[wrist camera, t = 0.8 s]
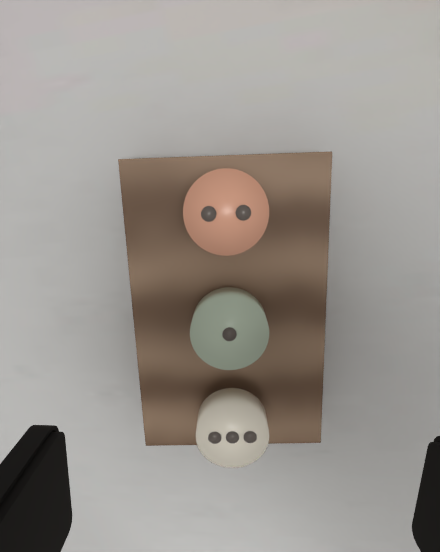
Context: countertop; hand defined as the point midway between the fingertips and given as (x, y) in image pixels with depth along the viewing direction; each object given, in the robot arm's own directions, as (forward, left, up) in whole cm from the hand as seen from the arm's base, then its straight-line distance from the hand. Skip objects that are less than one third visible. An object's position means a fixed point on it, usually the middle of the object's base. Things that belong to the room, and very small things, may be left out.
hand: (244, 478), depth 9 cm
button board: (-2, 0, -20) cm, 20 cm away
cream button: (-9, 0, -15) cm, 18 cm away
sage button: (-2, 0, -15) cm, 15 cm away
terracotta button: (+6, 0, -15) cm, 16 cm away
